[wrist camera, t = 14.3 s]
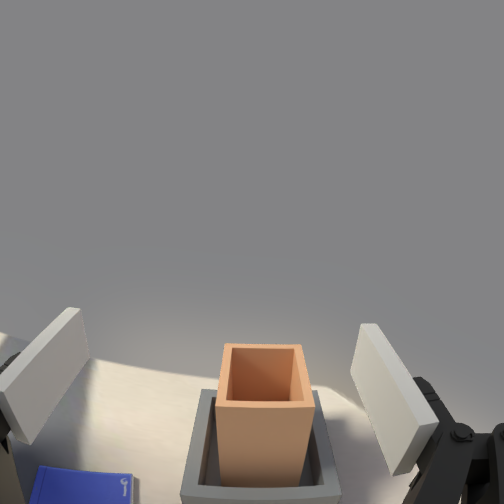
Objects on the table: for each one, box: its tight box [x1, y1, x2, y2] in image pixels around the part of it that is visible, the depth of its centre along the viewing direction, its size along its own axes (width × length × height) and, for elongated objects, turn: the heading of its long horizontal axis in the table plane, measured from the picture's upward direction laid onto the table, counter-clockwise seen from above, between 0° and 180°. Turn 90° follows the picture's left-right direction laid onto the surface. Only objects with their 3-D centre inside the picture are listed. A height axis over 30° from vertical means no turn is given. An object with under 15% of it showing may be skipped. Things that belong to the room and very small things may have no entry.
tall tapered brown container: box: [215, 343, 315, 488], centre depth 30 cm, size 8×10×14 cm
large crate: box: [180, 389, 342, 504], centre depth 32 cm, size 15×17×6 cm
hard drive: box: [29, 465, 134, 504], centre depth 24 cm, size 2×8×12 cm
